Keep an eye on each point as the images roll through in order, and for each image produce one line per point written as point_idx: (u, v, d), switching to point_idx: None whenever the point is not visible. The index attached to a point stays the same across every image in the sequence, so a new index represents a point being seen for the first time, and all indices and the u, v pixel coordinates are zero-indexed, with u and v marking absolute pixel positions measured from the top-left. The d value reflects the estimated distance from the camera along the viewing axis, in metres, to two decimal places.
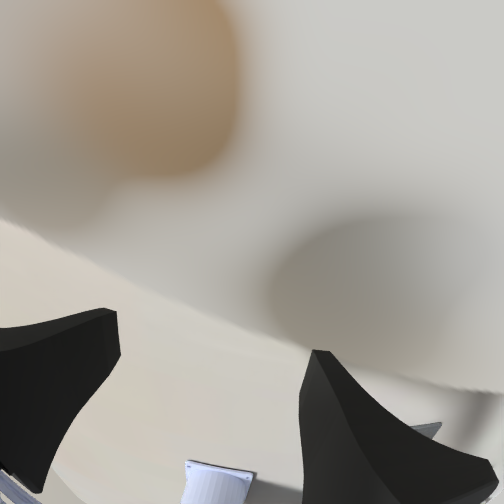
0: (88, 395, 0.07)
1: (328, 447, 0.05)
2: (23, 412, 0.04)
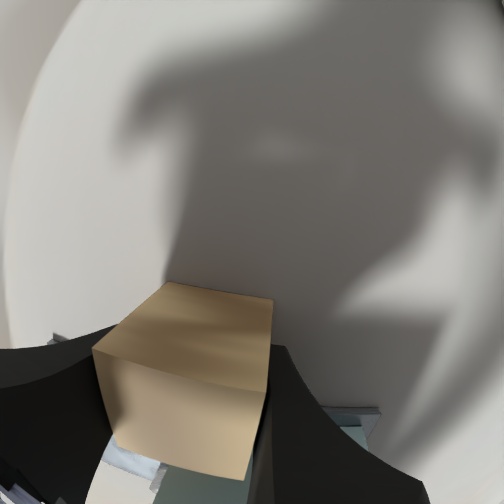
0: None
1: (262, 443, 0.05)
2: (65, 440, 0.04)
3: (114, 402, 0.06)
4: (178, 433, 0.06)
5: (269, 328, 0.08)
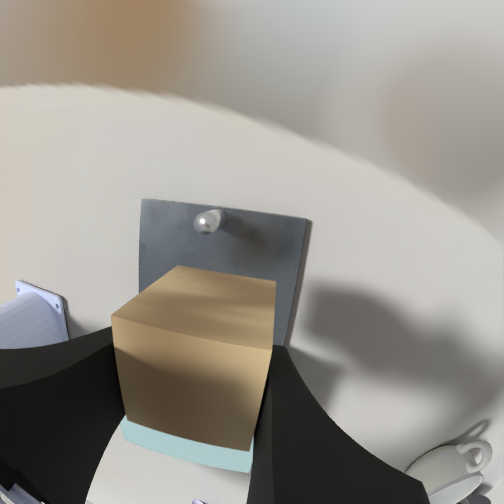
0: (124, 410, 0.07)
1: (262, 443, 0.05)
2: (65, 440, 0.04)
3: (128, 371, 0.06)
4: (188, 400, 0.06)
5: (272, 302, 0.09)
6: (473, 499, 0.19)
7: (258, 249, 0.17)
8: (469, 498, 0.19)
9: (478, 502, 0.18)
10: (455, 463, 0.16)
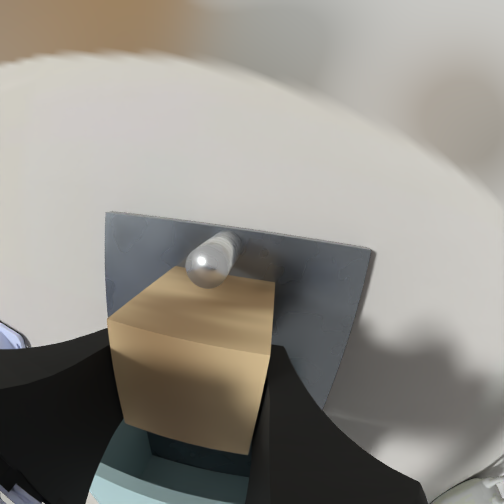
0: None
1: (260, 442, 0.05)
2: (65, 440, 0.04)
3: (125, 374, 0.06)
4: (186, 404, 0.06)
5: (271, 305, 0.08)
6: None
7: (293, 297, 0.11)
8: None
9: None
10: (482, 499, 0.09)
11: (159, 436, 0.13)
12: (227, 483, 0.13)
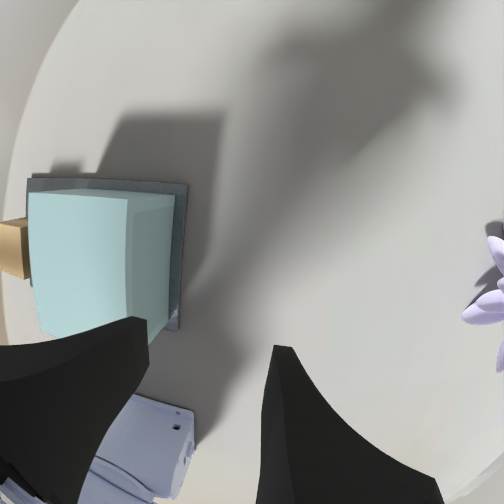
0: (118, 408, 0.07)
1: (273, 444, 0.05)
2: (58, 436, 0.04)
3: (9, 269, 0.15)
4: (9, 248, 0.15)
5: (19, 219, 0.17)
6: None
7: None
8: None
9: None
10: None
11: None
12: None
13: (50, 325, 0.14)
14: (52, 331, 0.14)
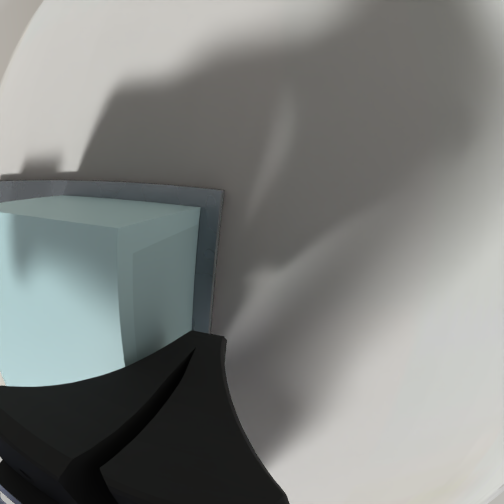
0: None
1: None
2: None
3: None
4: None
5: None
6: None
7: None
8: None
9: None
10: None
11: None
12: None
13: None
14: None
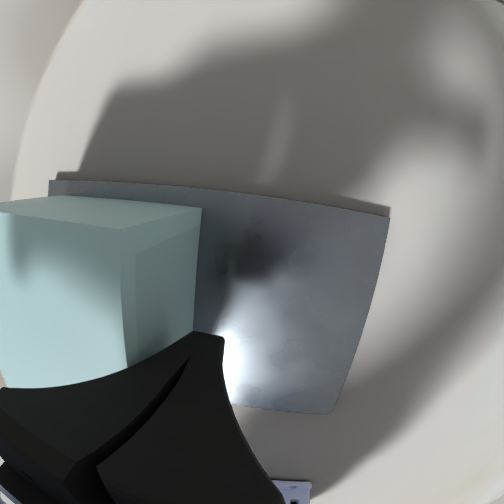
0: None
1: None
2: None
3: None
4: None
5: None
6: None
7: None
8: None
9: None
10: None
11: (264, 377, 0.13)
12: None
13: None
14: None
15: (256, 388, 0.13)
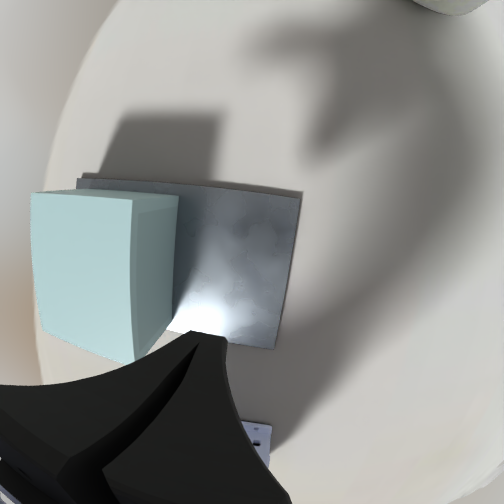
0: None
1: None
2: None
3: None
4: None
5: None
6: None
7: None
8: None
9: None
10: None
11: (221, 313, 0.19)
12: None
13: (53, 326, 0.14)
14: (55, 332, 0.14)
15: (216, 322, 0.20)
